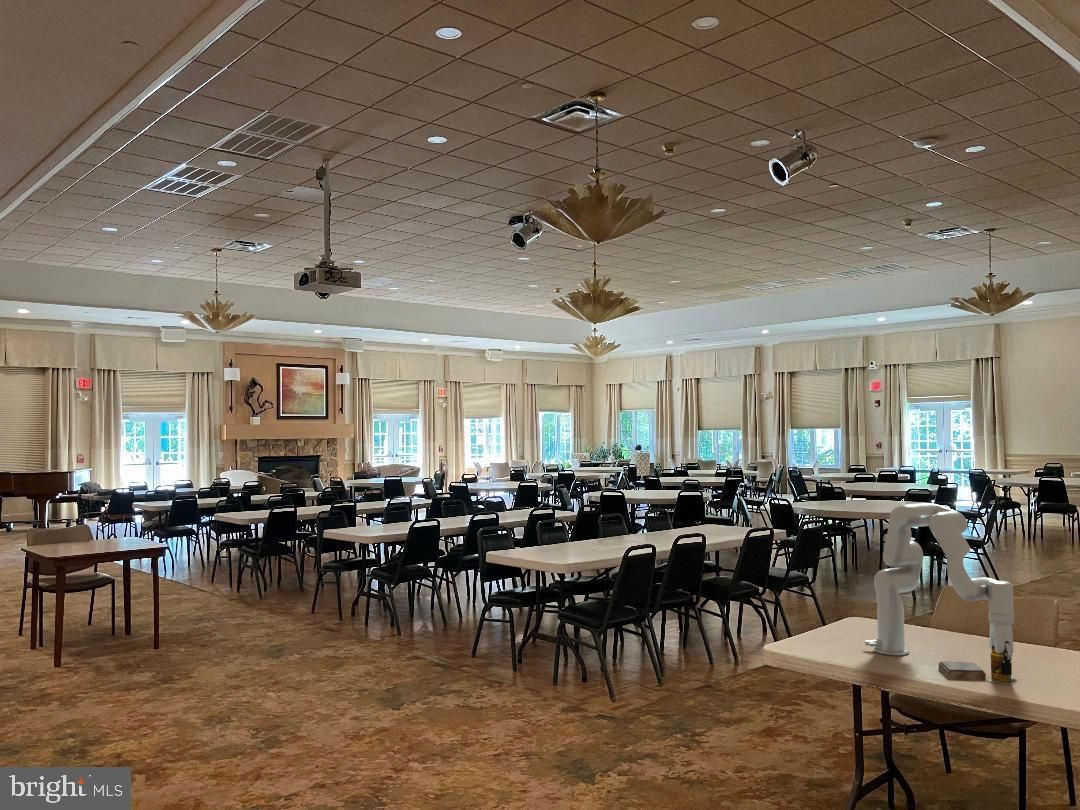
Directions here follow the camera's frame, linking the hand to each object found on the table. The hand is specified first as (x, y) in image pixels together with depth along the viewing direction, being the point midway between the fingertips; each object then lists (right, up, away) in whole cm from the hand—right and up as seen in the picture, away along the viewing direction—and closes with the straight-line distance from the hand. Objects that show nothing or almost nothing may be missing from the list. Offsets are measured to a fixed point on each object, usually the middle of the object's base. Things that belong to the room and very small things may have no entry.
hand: (1002, 671), depth 305 cm
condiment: (0, -4, +1) cm, 4 cm away
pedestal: (-10, -4, +9) cm, 14 cm away
